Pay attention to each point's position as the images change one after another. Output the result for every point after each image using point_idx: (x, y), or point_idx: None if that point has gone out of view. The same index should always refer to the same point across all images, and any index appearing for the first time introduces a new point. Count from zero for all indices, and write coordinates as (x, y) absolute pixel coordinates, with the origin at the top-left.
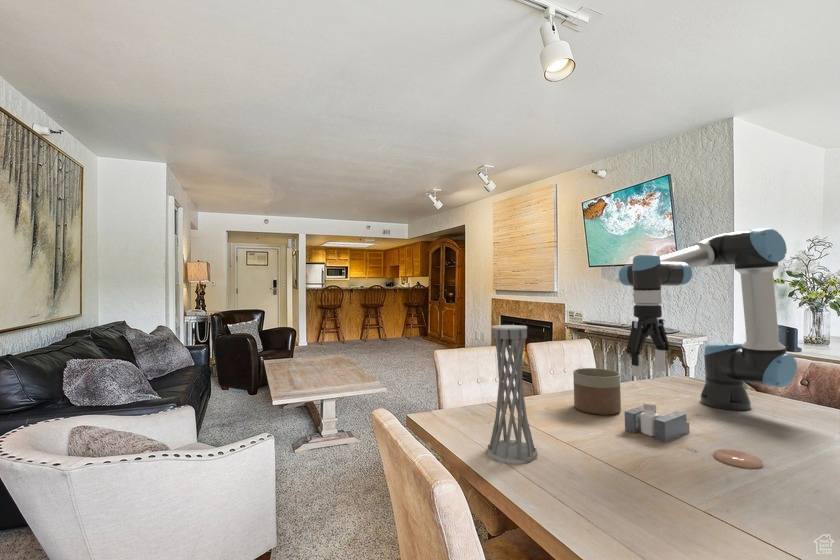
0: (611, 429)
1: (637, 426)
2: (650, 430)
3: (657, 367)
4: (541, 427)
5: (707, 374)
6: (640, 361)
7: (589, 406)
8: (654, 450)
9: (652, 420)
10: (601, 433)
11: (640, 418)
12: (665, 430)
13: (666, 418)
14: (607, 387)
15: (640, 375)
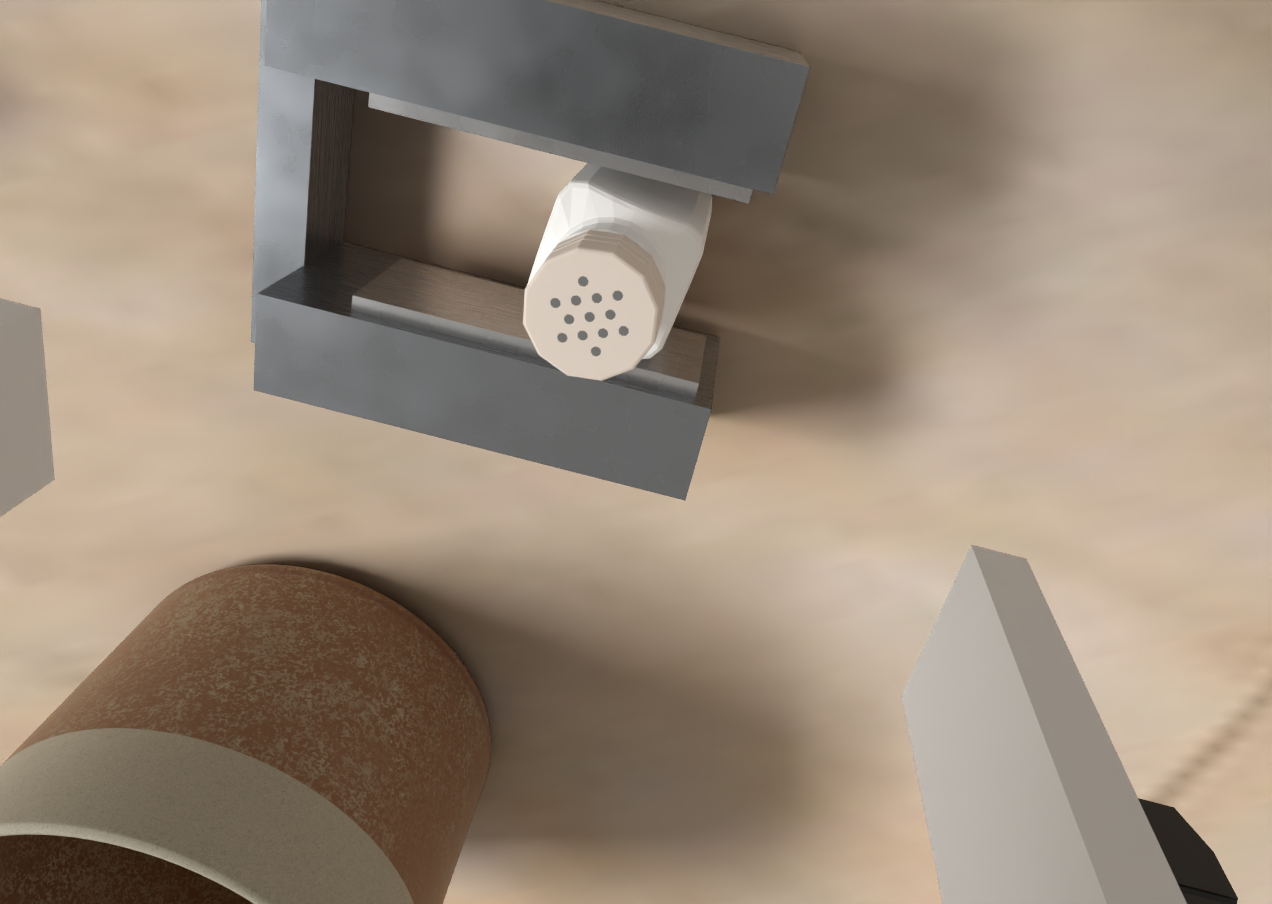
0: (743, 505)
1: (692, 338)
2: (709, 217)
3: (5, 471)
4: None
5: None
6: (1155, 842)
7: (476, 764)
8: (1079, 82)
9: (697, 221)
10: (898, 539)
11: None
12: (793, 57)
13: (645, 85)
14: (318, 797)
15: (1030, 586)
